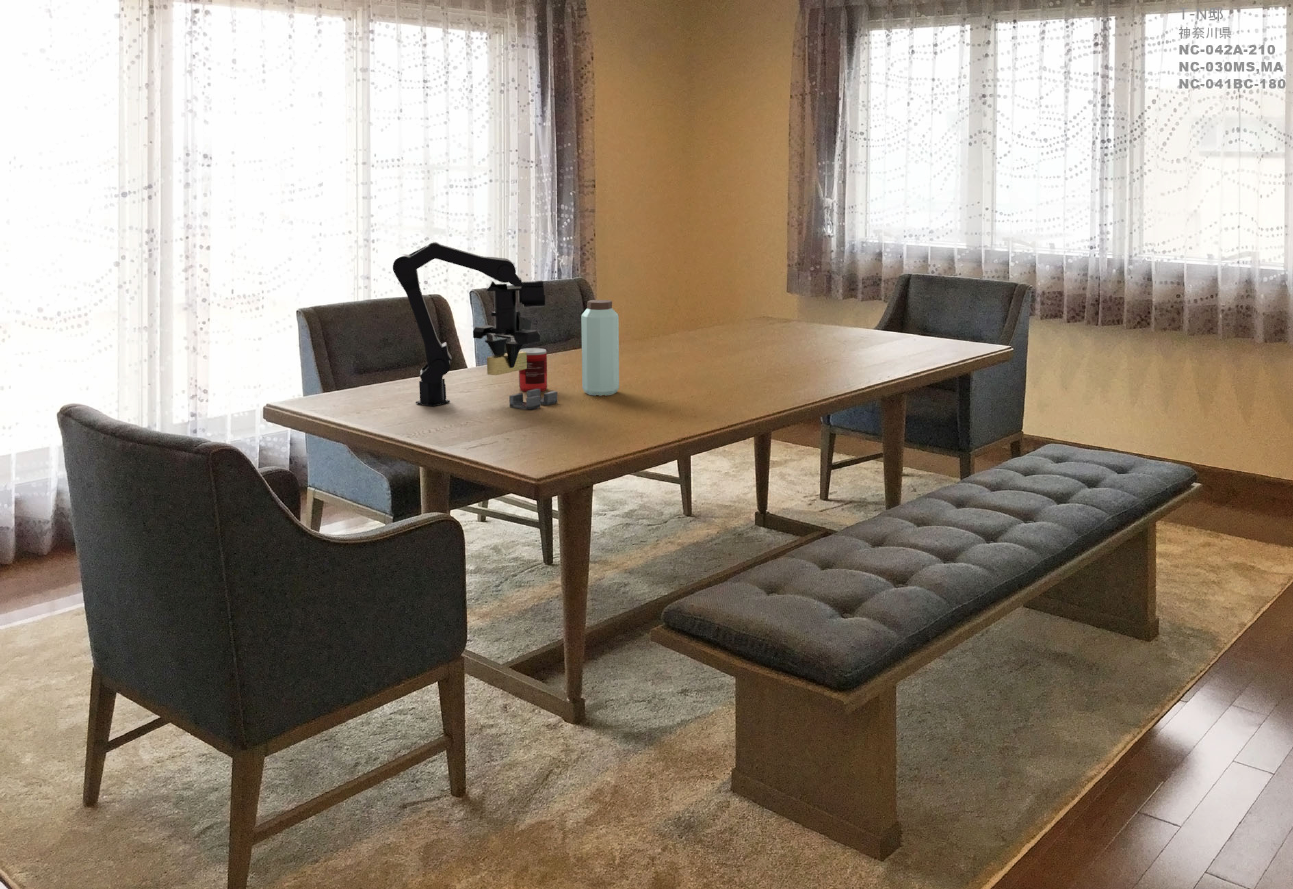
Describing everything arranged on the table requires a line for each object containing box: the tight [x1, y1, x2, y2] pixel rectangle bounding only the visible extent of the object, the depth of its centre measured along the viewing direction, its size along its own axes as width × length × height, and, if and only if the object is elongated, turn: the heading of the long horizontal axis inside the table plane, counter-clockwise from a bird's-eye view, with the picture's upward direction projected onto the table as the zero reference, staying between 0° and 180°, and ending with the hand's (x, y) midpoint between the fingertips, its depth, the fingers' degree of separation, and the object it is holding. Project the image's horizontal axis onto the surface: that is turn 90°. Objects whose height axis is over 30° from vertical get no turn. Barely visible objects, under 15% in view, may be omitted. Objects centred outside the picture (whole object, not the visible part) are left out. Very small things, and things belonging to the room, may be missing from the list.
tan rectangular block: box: [486, 351, 527, 376], centre depth 326 cm, size 12×3×4 cm, turn 143°
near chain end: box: [508, 392, 541, 411], centre depth 321 cm, size 4×7×3 cm, turn 55°
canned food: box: [518, 347, 548, 393], centre depth 342 cm, size 8×8×11 cm
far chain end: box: [526, 389, 558, 406], centre depth 326 cm, size 4×7×3 cm, turn 55°
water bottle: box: [580, 299, 620, 397], centre depth 336 cm, size 10×10×25 cm
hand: (507, 367), depth 327 cm, fingers closed on tan rectangular block, 3 cm apart
